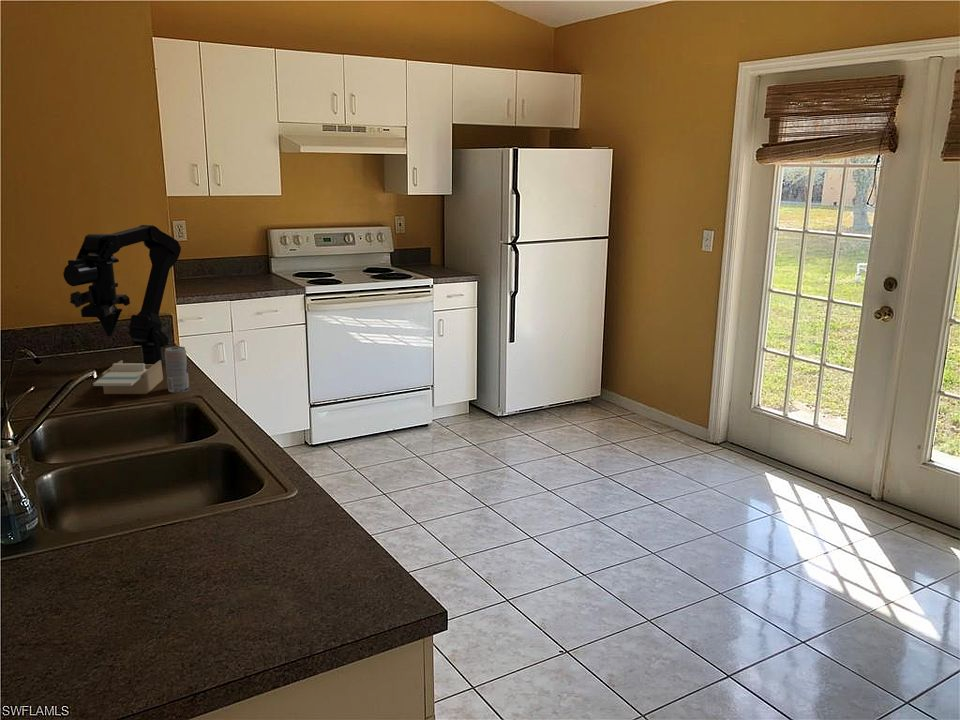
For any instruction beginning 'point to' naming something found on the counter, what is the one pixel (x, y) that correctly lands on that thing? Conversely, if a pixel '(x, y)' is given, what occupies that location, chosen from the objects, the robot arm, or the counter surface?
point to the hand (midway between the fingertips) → (109, 335)
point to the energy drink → (176, 369)
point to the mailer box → (142, 385)
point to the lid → (122, 375)
